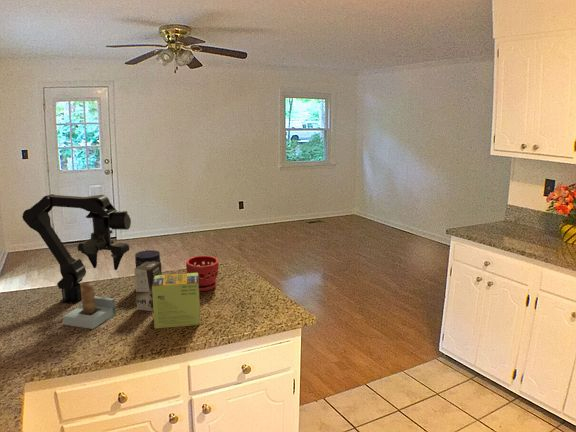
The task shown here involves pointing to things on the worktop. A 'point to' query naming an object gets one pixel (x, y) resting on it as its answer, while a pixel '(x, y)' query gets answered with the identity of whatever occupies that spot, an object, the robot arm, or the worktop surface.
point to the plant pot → (204, 271)
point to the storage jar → (146, 257)
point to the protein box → (176, 300)
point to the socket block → (103, 312)
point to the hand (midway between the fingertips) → (105, 268)
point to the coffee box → (146, 284)
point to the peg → (88, 298)
